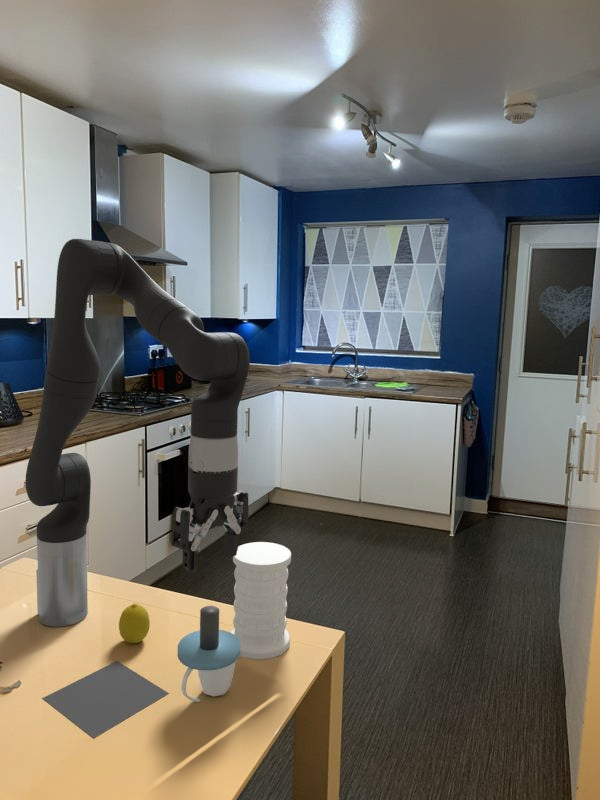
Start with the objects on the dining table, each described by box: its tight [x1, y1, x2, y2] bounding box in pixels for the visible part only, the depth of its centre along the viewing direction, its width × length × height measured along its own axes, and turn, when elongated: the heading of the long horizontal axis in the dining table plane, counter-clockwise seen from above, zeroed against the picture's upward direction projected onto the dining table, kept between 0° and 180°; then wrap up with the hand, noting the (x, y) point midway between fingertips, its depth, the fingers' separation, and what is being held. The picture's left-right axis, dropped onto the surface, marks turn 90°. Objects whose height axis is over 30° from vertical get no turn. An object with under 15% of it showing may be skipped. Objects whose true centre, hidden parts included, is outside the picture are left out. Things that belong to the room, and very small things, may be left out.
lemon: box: [118, 603, 151, 644], centre depth 115 cm, size 6×6×8 cm
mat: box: [41, 660, 170, 739], centre depth 99 cm, size 14×14×1 cm
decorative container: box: [230, 541, 292, 661], centre depth 116 cm, size 12×12×18 cm
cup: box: [181, 660, 237, 703], centre depth 100 cm, size 7×10×8 cm
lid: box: [177, 605, 241, 671], centre depth 99 cm, size 10×10×7 cm
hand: (211, 563), depth 97 cm, fingers open, 8 cm apart
